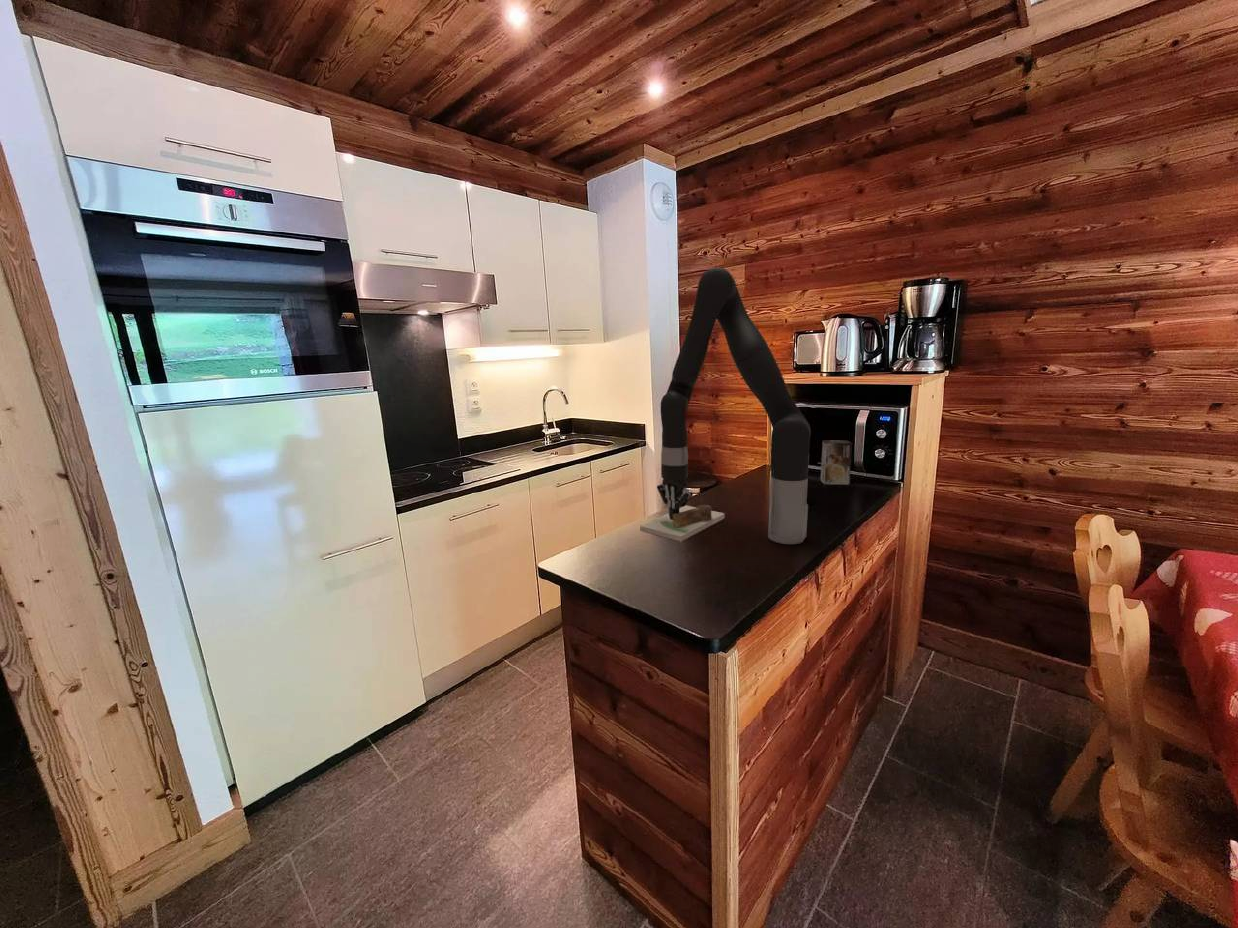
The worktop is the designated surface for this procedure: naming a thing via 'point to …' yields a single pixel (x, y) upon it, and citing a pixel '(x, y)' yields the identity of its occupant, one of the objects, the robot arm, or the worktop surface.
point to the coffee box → (836, 462)
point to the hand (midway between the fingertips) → (674, 519)
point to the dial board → (667, 530)
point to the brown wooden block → (692, 515)
